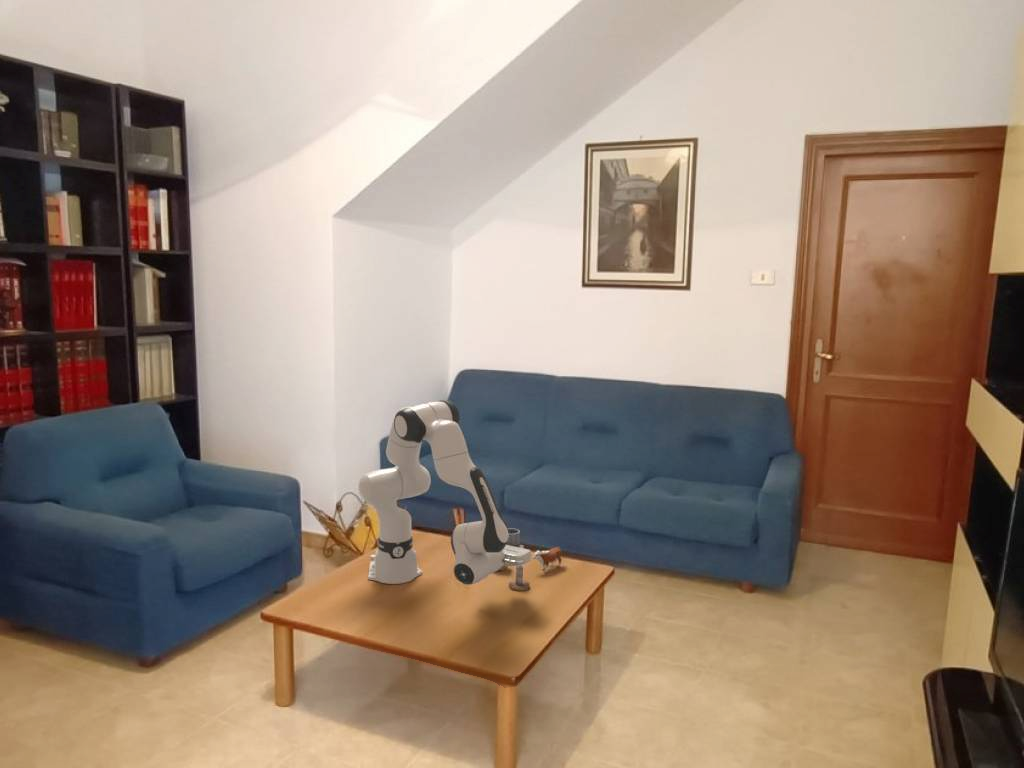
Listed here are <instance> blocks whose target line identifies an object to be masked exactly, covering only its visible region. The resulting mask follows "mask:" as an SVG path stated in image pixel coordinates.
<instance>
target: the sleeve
mask: <svg viewBox="0 0 1024 768" xmlns="http://www.w3.org/2000/svg"><path fill="white" fill-rule="evenodd" d="M507 528H508V531H509V540H508V543H507V545H510V546H515V547H517V546H518V545H519V544H520V545H521V543H520V542H521V530H520V529H518V528H514V527H513V528H512V527H510V528H509V527H507ZM504 565H505V566H508V567H513V566H512V565H508V564H504Z"/></svg>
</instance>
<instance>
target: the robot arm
mask: <svg viewBox="0 0 1024 768" xmlns="http://www.w3.org/2000/svg"><path fill="white" fill-rule="evenodd" d="M459 411H460V410H459V409H458V407H457V405H456V404H455V403H454V402H453V401H451V400H443V399H442V400H438V401H429V402H424V403H421V404H416V405H414V406H403V407H402V408H400V409H398V411H397V412H396V414H395V415H394V419H393V421H392V425H391V427H390V430H389V435H388V439H387V444H386V449H385V455H386V458H387V460H388V461H389V462H390V463H391V464H393V465H394V466H392V467H388V468H381V469H375V470H371V471H369V472H367V473H364V474H362V475H361V477H360V480H359V482H358V492H359V495H360V497H361V498H362V499H363V500H364V501H365V502H367V503H368V504H370V505H371V506H372V508H374V510H375V512H376V515H377V518H378V519H377V520H378V534H379V535H378V538H377V548H376V551H375V554H371V555H370V562H369V568H368V569H369V571H368V576H367V578H368V580H369V581H376V582H379V583H382V584H390V585H398V584H404V583H409V582H411V581H413V580H414V579H415V578H417V577H418V576H421V575H422V574H423V570H422V569H421V568H419V567H418V554H417V551H416V550H415V549H414V548H413V545H414V540H413V535H412V516H411V514H410V513H409V511H407V510H406V509H403V508H401V507H399V506H398V504H397V503H398V502H397V500H403V499H407V498H413V497H414V498H415V497H417V496H420V495H422V494H425V493H427V492H428V491H429V490H430V486H431V482H432V479H431V474H430V472H429V471H428V469H427V468H426V467H425V466H423V465H422V464H421V463H420V453H421V448H422V444H423V443H422V442H423V440H424V441H426V442H427V443H428V444H429V445H430V449H431V454H432V459H433V463H434V469H435V472H436V474H437V476H438V478H439V479H440V480H442V481H443V482H444V483H446V484H448V485H451V486H454V487H458V488H459V487H460V488H462V489H464V490H466V491H468V492H469V493H471V495H472V496H473V498H474V500H475V503H476V506H477V508H478V511H479V513H480V515H481V518H482V520H478V521H471V522H464V523H459V524H456V526H455V527H454V528H453V530H452V532H451V536H450V546H451V549H452V552H453V554H454V556H455V561H454V565H453V574H454V577H455V578H456V579H457V580H458V581H459V582H460V583H462V584H463V585H469V586H470V585H474V584H477V583H479V582H481V581H483V580H485V579H486V578H487V577H489V575H492V574H494V573H495V572H498V571H497V570H499V569H500V568H502V567H503V565H504V564H508V565H512V566H511V567H517V566H522V567H523V566H524V565H526V564H528V563H530V562H531V560H532V552H531V550H530V549H527V548H525V545H523V544H521V543H520V544H519V545H518V546H517V547H515V546H510V545H507V543H508V540H509V531H508V528H509V527H508V526H507V524H506V522H505V520H504V519H503V517H502V515H501V513H500V511H499V508H498V506H497V504H496V501H495V499H494V496H493V493H492V490H491V487H490V485H489V483H488V480H487V479H486V476H485V474H484V473H483V471H482V470H481V469H480V468H479V467H477V466H476V465H475V464H474V463H473V460H472V458H471V457H470V453H469V450H468V446H467V442H466V439H465V437H464V434H463V432H462V429H461V427H460V425H459V423H460V412H459Z"/></svg>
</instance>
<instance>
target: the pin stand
mask: <svg viewBox="0 0 1024 768" xmlns="http://www.w3.org/2000/svg"><path fill="white" fill-rule="evenodd" d="M508 588H509V589H510V590H512V591H516V592H524V591H527V590H529V589H530V583H529V581H527V580H524V567H523V565H522V566H515V579H514V580H511V581H509V582H508Z"/></svg>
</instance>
